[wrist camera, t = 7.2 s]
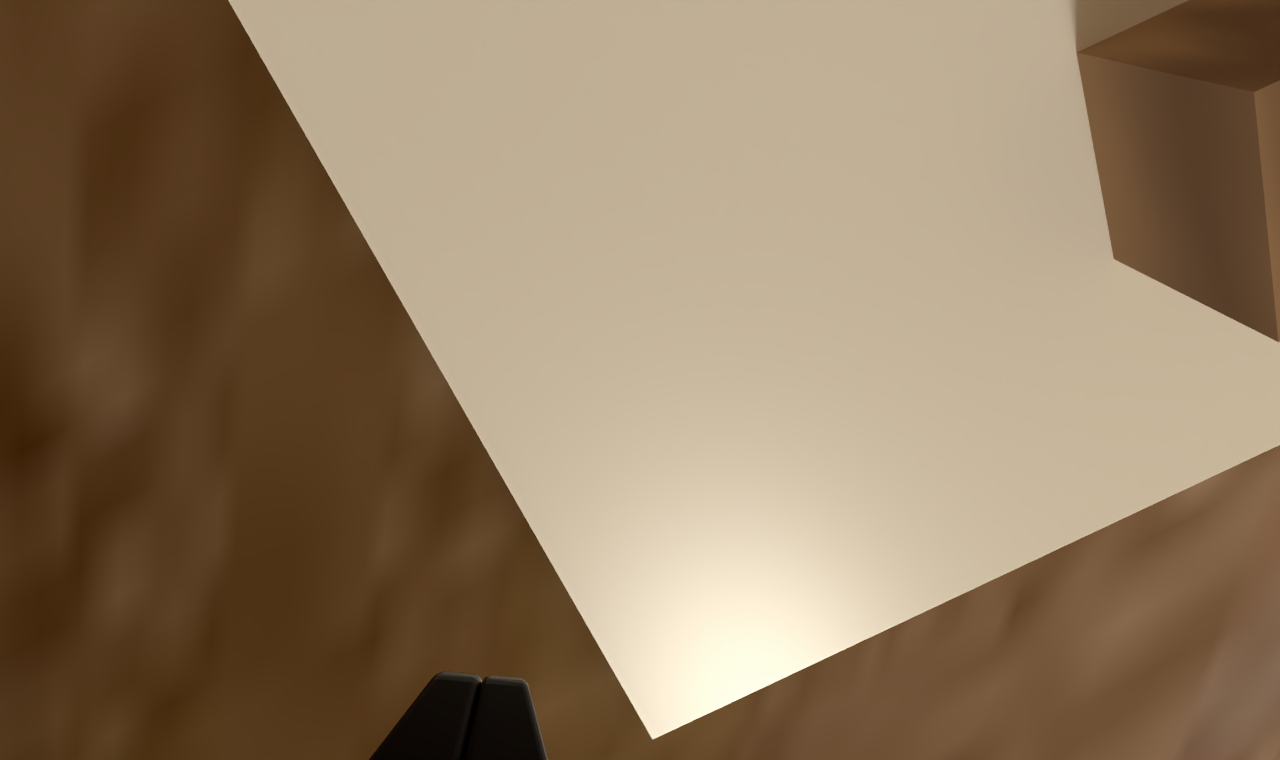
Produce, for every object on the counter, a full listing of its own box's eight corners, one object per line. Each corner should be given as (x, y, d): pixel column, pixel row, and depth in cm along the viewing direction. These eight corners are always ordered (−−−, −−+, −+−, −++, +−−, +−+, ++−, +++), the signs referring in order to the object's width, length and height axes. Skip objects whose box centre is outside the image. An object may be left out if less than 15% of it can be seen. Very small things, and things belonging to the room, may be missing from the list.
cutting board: (647, 721, 25) (652, 739, 24) (233, -4, 16) (227, -1, 16) (1461, 338, 25) (1484, 348, 24) (1466, -576, 16) (1501, -592, 16)
